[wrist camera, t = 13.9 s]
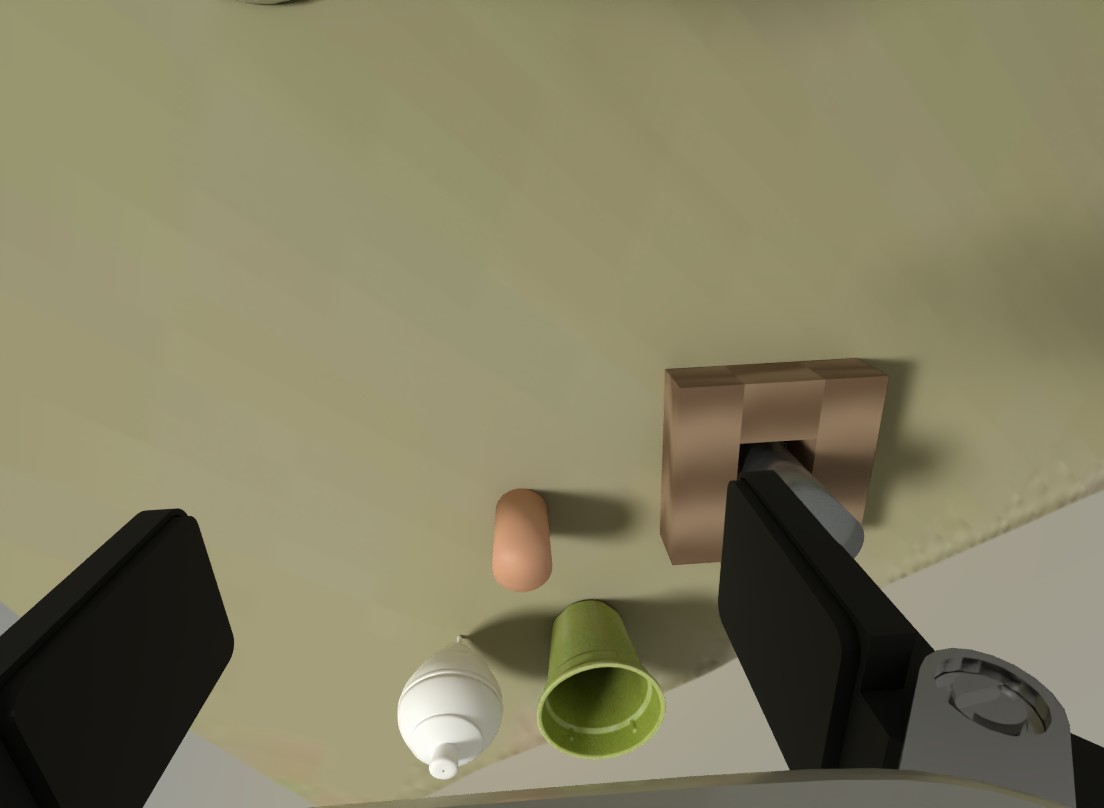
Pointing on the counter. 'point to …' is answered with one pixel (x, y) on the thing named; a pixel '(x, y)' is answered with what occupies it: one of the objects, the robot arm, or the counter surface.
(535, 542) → the short pin
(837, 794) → the robot arm
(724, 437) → the socket block
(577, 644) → the plant pot
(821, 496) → the long pin
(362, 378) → the counter surface
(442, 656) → the spinning top
